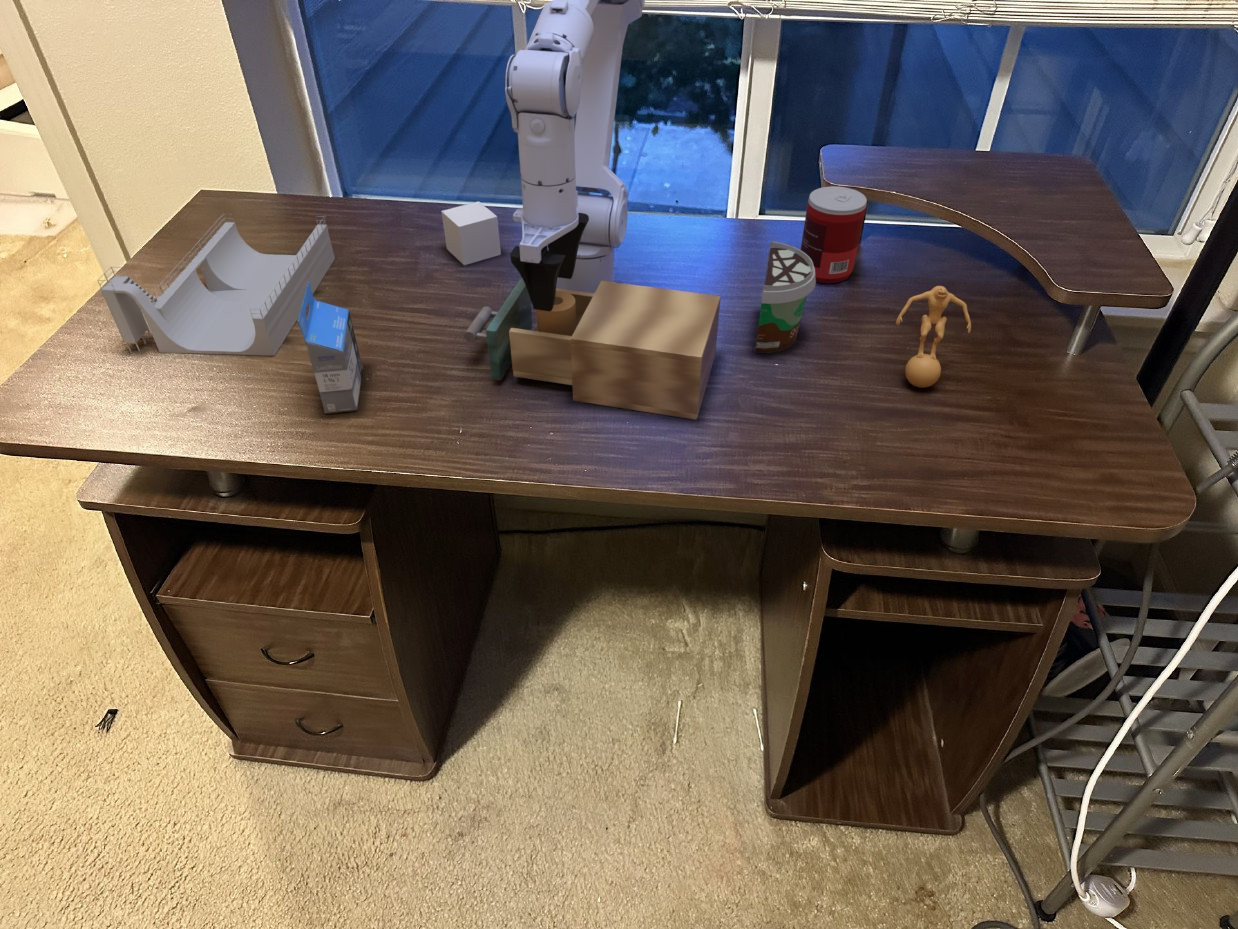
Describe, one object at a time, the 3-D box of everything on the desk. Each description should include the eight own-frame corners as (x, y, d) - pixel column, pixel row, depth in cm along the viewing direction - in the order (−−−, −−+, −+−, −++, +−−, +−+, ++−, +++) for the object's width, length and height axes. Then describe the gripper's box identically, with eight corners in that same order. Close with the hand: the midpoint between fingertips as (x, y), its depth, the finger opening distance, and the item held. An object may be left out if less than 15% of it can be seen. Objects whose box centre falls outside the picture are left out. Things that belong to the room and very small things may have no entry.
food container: (804, 365, 105) (816, 293, 98) (753, 359, 106) (763, 287, 99) (807, 313, 114) (819, 244, 107) (761, 308, 115) (770, 239, 108)
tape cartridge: (359, 412, 98) (335, 319, 89) (323, 415, 97) (296, 322, 89) (364, 367, 104) (342, 277, 96) (331, 370, 104) (306, 280, 95)
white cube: (501, 254, 126) (497, 216, 122) (464, 265, 123) (459, 226, 119) (482, 238, 130) (478, 201, 126) (446, 248, 127) (441, 210, 123)
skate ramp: (274, 356, 106) (252, 284, 99) (128, 351, 107) (96, 280, 100) (335, 258, 125) (319, 193, 118) (210, 255, 125) (187, 190, 119)
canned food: (860, 266, 123) (875, 193, 116) (839, 290, 118) (854, 215, 111) (810, 252, 126) (822, 181, 119) (788, 275, 121) (799, 201, 114)
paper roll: (532, 347, 104) (528, 297, 99) (565, 336, 106) (563, 286, 101) (550, 366, 101) (546, 315, 96) (583, 355, 103) (582, 304, 98)
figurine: (883, 389, 101) (906, 301, 93) (882, 361, 106) (904, 274, 98) (956, 398, 100) (986, 309, 92) (952, 369, 104) (979, 281, 96)
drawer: (457, 373, 102) (450, 324, 97) (492, 321, 110) (487, 274, 106) (601, 395, 99) (600, 346, 94) (625, 340, 107) (626, 292, 103)
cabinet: (572, 400, 99) (570, 338, 94) (601, 340, 109) (601, 280, 103) (696, 420, 97) (701, 357, 91) (715, 356, 106) (720, 295, 100)
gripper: (533, 147, 95) (539, 259, 104) (487, 199, 84) (498, 319, 93) (594, 153, 93) (596, 266, 102) (555, 206, 83) (560, 328, 92)
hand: (553, 292), depth 97 cm, fingers open, 7 cm apart
